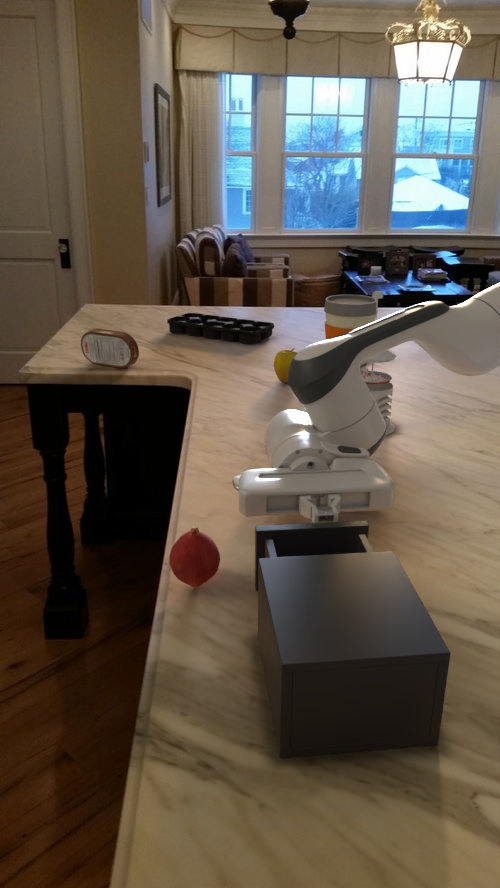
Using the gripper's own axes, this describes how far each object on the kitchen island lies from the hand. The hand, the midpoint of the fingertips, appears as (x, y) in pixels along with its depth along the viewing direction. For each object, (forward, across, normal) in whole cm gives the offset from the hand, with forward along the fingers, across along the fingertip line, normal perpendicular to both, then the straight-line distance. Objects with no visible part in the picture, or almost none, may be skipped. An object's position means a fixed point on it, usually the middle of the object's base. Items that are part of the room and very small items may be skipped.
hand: (326, 519), depth 85 cm
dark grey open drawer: (+12, -3, +5) cm, 14 cm away
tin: (-90, -33, +6) cm, 96 cm away
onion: (+3, -16, +6) cm, 17 cm away
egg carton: (-118, -5, +6) cm, 119 cm away
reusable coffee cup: (-88, +24, +6) cm, 92 cm away
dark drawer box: (+22, -3, +6) cm, 23 cm away
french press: (-44, +17, +6) cm, 48 cm away
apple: (-73, +7, +6) cm, 74 cm away
